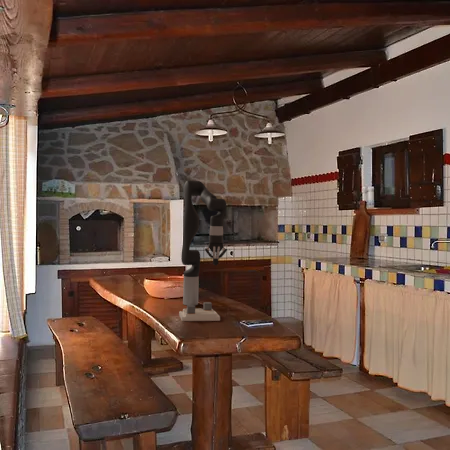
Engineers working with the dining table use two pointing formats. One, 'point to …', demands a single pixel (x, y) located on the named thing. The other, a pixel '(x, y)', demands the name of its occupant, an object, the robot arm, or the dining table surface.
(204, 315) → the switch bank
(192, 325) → the dining table surface
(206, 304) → the tab
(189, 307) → the tab
